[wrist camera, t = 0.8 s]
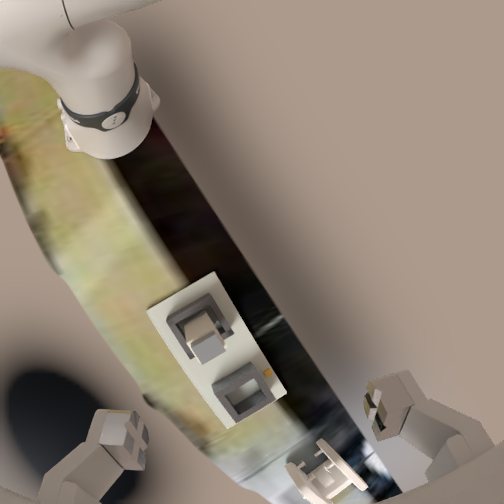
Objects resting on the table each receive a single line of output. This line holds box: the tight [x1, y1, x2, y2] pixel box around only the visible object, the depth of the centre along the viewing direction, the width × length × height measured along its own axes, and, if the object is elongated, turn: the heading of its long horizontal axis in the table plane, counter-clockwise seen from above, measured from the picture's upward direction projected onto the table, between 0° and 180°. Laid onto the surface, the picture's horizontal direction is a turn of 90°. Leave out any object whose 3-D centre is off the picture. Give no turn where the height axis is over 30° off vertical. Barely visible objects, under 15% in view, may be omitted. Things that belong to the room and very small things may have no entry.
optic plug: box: [183, 309, 228, 365], centre depth 41 cm, size 3×4×16 cm
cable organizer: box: [284, 438, 368, 504], centre depth 49 cm, size 15×11×12 cm
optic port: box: [211, 362, 276, 423], centre depth 48 cm, size 7×8×4 cm
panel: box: [146, 271, 287, 429], centre depth 48 cm, size 26×13×5 cm, turn 30°
